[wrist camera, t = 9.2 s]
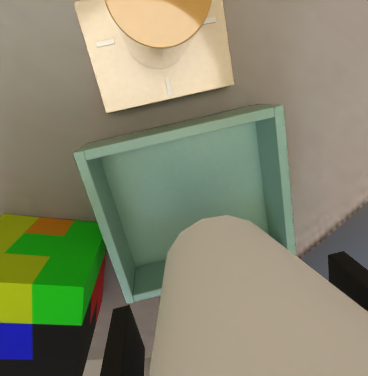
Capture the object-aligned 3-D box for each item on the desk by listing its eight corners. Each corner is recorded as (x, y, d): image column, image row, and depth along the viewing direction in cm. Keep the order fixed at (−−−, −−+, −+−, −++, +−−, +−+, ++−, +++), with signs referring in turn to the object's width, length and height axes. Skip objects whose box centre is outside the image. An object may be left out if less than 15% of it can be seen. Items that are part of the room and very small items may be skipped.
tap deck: (110, 112, 24) (105, 113, 22) (74, -11, 21) (64, -27, 18) (226, 86, 25) (234, 84, 22) (208, -39, 21) (215, -58, 19)
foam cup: (323, 215, 15) (1074, 716, 3) (260, 338, 17) (509, 897, 5) (165, 167, 13) (315, 1040, 1) (118, 312, 16) (-14, 1087, 3)
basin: (130, 270, 30) (126, 304, 24) (88, 142, 25) (72, 152, 20) (273, 235, 30) (296, 261, 25) (258, 103, 25) (283, 104, 20)
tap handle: (132, 75, 21) (119, 57, 13) (113, 0, 19) (83, -77, 11) (195, 61, 21) (222, 34, 13) (182, -15, 20) (203, -100, 11)
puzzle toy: (7, 297, 29) (-64, 392, 19) (3, 213, 26) (-82, 277, 17) (101, 301, 30) (78, 392, 21) (107, 223, 27) (83, 287, 18)
